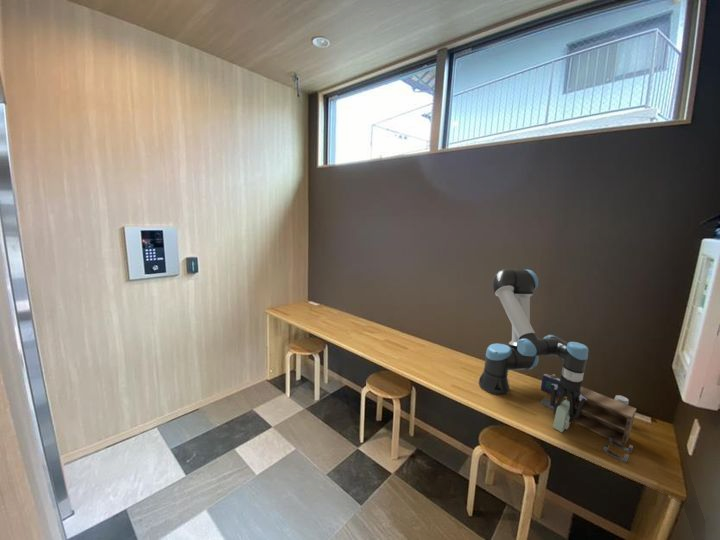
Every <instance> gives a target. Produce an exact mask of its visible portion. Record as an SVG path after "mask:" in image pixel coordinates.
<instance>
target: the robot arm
mask: <svg viewBox="0 0 720 540" xmlns="http://www.w3.org/2000/svg"><path fill="white" fill-rule="evenodd" d="M491 287H492V291H493V292H494V295H495V296H496V297H498V299H499V301H500V303H501V305H502V307H503V309H504V311H505V314H506V316H507V317H508V319H509V321H510V324H511V340H510V341H509V342H508V345H506V344H505V343H491V344H490V345H488V347H487V348H486V351H485V359H484V368H483V372H481V375H480V377H479V379H478V385H479V387H480V388H481V389H483V390H484V391H486V392H487V393H488V394H489V393H490V394H492V395H497V396H503V395H507V394H508V393H509V392H510V384H509V379H508V375H509V371H518V370H519V371H520V370H524V371H527V370H532V369H534V368H536V367H537V366H538V363H539V361H540V360H539V356H556V357H557V358H559V359H561V360H563V364H562V369H561V374H560V378H559V379H560V383H559V384H558V385H556V384H554V383H553V384H552V385H551V389H552V392H551V394H550V400H551V401H550V405H551V406H553V407H554V410H553V415H554V416H555V415H556V410H557V407H558V406H559V405H560V404H561V403H562V402H563V401H564V399H565V398H566V399H567V398H569V401H570V414H569V415H568V416H567V421H568V423H566V426H565V429H564V430H568V429H569V427H570V424H573V423H574V422H573V420H574V417H576V418H578V417H579V416H580V414H581V411H582V408H583V405H584V402H585V401H586V400H587V397H583V396H582V395H581V392H580V389H581V386H582V383H583V380H584V374H585V369H586V364H587V363H588V362H587V361H588V358H589V347H588V346H587V345H585V344H583V343H580V342H577V341H569V342H567V341H565V340H563V339H561V338H560V337H558V336H555V335H554V334H547V335H545V336H544V337H543V338H538V335H537V334H536V333H535V330H534V328H533V326H532V325H531V323H530V322H531V318H530V316H531V311H530V310H531V306H530V305H531V298H530V297H532V296H534V291H535V290H537V288H538V287H539V278H538V275H537V274H536V273H535V272H534V271H533V270H531V269H524V268H519V269H518V268H516V269H515V268H514V269H513V268H512V269H511V268H504V269H501V270H498V271H497V272H496V273H495V274H494V275H493V278H492V280H491ZM557 389H559V391H560V393H561V394H560V396H558V398H557V396H556V392H557ZM577 397H579V400H580V402H579V405H578V408H577V411H576V413H575V398H577ZM556 399H557V401H556ZM555 402H557V403H556V404H555Z"/></svg>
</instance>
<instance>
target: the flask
mask: <svg viewBox="0 0 720 540" xmlns="http://www.w3.org/2000/svg"><path fill="white" fill-rule="evenodd" d="M541 379H542V380H541V384H540V390H541V391H542V392H544V393H547V394H550V395H551V392H552V389H551V385H552V384H553V383H554V384H556V385H558V384H559V383H560V378H558V377H556V374H554V373H553V374H551V375H550V374H548V373H547V374H546V373H543V374H542V378H541ZM560 394H561V393H560V391H559V389H557V392H556V397H559V396H560Z"/></svg>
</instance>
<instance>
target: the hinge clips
mask: <svg viewBox="0 0 720 540" xmlns="http://www.w3.org/2000/svg"><path fill="white" fill-rule="evenodd" d="M613 440H614V436H611V437H610V439H608V443H609V444H611V445H613V446H615V447H616V448H619V449H621V450H623V451H624V452H627V453H629V454H632V452H633V449H634V445H632V444H629V446H628V447H626V446H622V445H620V444H618V443H616V442H614V441H613ZM609 444H607V443H605V444H604V447H603V452H604V453H605V454H607V455H609V456H612V457H613V458H615V459H617V460H619V461H621V462H623V463H624V462H625V463H624V464H627V463H628V460H629V454H627V453H625V454H624V455H623V456H620V455H619V454H617V453H616V452H615V453H614V451H611V450H609V448H610V445H609Z"/></svg>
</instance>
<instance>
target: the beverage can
mask: <svg viewBox="0 0 720 540" xmlns="http://www.w3.org/2000/svg"><path fill="white" fill-rule="evenodd" d="M613 399H614V400H616V401H619V402H621V403H624V404H626V405H629V404H630V403H629V402H630V401H629V398H627V397H626V396H623V395H619V394H615V397H614V398H613Z"/></svg>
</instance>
